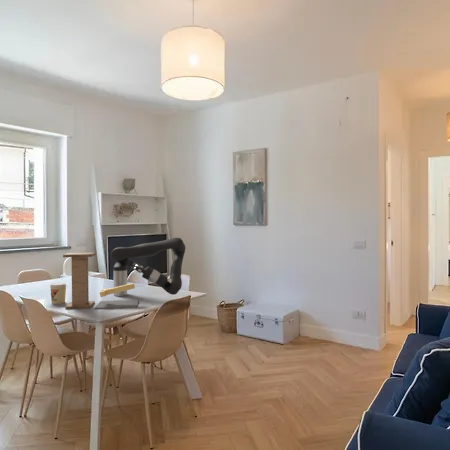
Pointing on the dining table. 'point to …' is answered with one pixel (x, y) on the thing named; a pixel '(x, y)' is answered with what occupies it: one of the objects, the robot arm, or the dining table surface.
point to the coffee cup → (58, 293)
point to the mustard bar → (116, 289)
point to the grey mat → (117, 304)
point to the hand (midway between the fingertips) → (127, 261)
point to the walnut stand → (80, 281)
